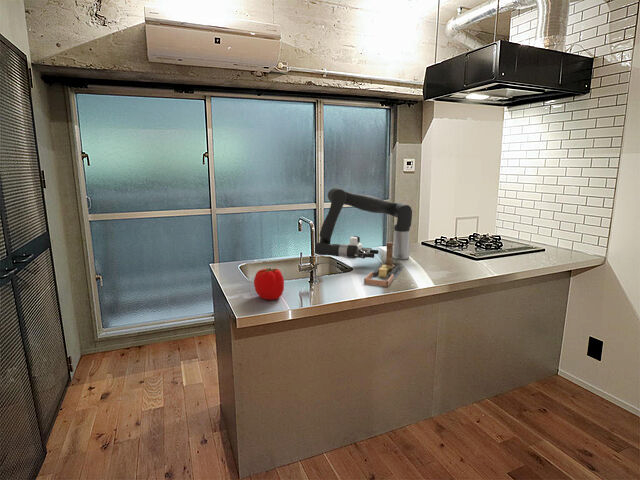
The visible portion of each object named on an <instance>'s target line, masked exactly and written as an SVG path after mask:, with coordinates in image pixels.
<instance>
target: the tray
mask: <svg viewBox="0 0 640 480" xmlns="http://www.w3.org/2000/svg"><path fill="white" fill-rule="evenodd" d="M373 272H374V271H370V273H368V275H366V276H365V277H364V279H363V284H364V285H372V286H380V287H387V288H388V287H389V286H390V284H392V282H393V280H395V279H394V274H392V275H391V276H390V278H387V280H382V279H372V278H373V277H374V276H373Z"/></svg>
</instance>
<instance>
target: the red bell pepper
mask: <svg viewBox="0 0 640 480" xmlns="http://www.w3.org/2000/svg"><path fill="white" fill-rule="evenodd" d="M253 279H254V280H253V286H254V289H255V292H256V294H257V295H258V296H259V297H260V298H261V299H263V300H267V301H269V300H270V301H271V300H277V299H280V297H281V296H282V295H283V292H284V290H285V281H284V280H285V279H284V276H283V274H282V272H281V270H280V269H278V268H268V267H267V268H262V269H260V270H258V271H257V272H256V273H255V276H254V278H253Z"/></svg>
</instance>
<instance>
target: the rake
mask: <svg viewBox="0 0 640 480" xmlns="http://www.w3.org/2000/svg"><path fill="white" fill-rule="evenodd" d="M393 244H394V241H388V242H386V255H385V256H386V258H385V259H386V260H385V262H386V265H391V271H392V270H393V269H394V267H395V265H392V263H394V262H393V259H394V258H393ZM391 271H390V272H391Z"/></svg>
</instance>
